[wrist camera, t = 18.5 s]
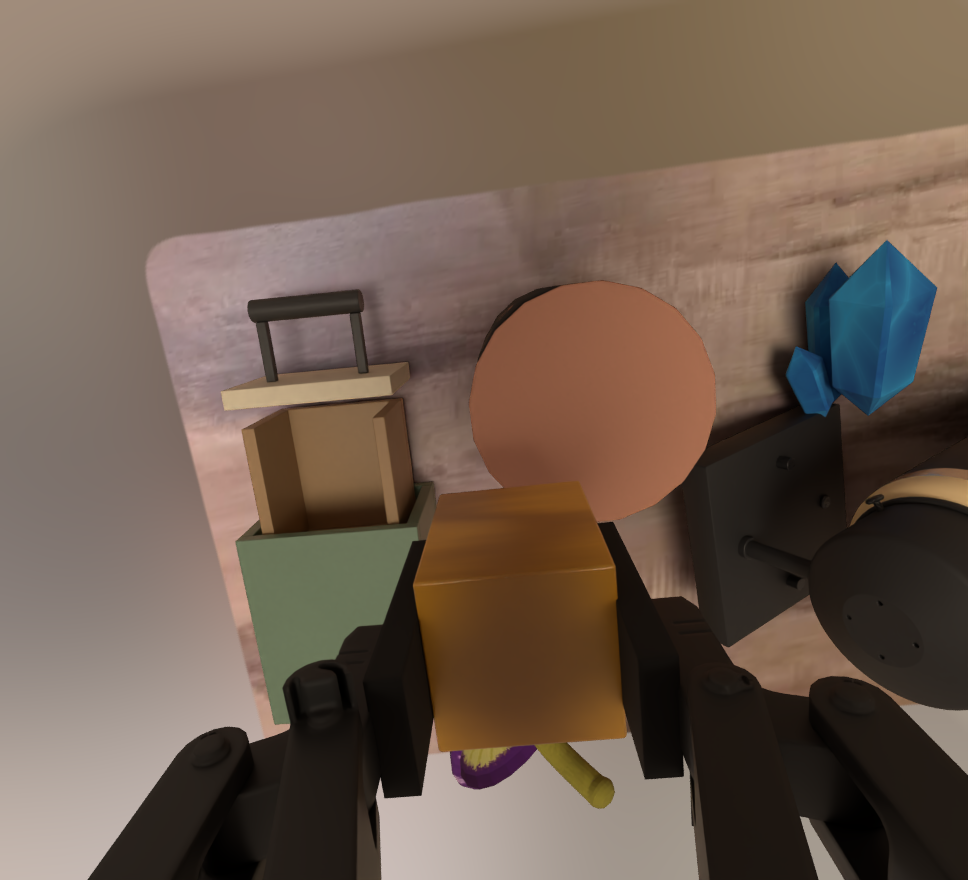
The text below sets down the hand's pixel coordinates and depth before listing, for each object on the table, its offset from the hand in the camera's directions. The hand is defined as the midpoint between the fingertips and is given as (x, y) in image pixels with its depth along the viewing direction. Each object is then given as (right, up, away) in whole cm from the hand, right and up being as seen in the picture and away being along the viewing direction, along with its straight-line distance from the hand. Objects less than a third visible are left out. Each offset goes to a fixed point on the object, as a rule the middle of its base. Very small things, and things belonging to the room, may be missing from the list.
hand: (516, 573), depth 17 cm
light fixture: (+28, +2, +26) cm, 38 cm away
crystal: (+24, +12, +24) cm, 35 cm away
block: (0, 0, +2) cm, 2 cm away
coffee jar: (+4, +10, +25) cm, 27 cm away
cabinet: (-10, -6, +29) cm, 32 cm away
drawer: (-11, +6, +25) cm, 28 cm away
